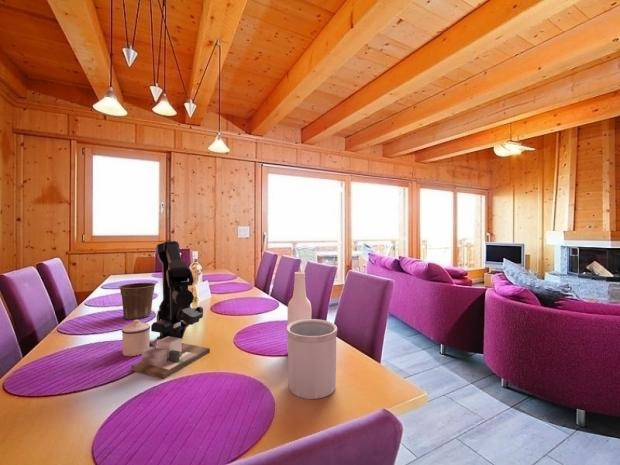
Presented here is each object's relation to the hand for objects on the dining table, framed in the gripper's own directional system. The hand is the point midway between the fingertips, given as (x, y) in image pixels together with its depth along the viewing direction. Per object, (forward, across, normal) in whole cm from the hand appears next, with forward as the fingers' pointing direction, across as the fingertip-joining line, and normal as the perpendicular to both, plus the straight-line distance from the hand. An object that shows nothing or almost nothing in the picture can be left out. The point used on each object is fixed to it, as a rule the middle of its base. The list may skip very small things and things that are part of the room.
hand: (178, 343), depth 105 cm
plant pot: (+4, +28, +55) cm, 62 cm away
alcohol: (+4, +17, -40) cm, 44 cm away
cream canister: (+4, -4, +18) cm, 19 cm away
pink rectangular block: (+2, -4, -2) cm, 5 cm away
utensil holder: (+4, -2, -52) cm, 52 cm away
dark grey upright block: (+2, -7, -5) cm, 9 cm away
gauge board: (+4, -5, -2) cm, 6 cm away
